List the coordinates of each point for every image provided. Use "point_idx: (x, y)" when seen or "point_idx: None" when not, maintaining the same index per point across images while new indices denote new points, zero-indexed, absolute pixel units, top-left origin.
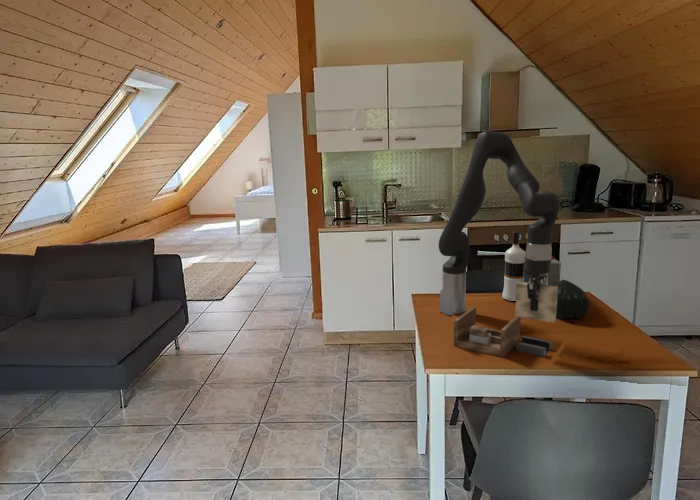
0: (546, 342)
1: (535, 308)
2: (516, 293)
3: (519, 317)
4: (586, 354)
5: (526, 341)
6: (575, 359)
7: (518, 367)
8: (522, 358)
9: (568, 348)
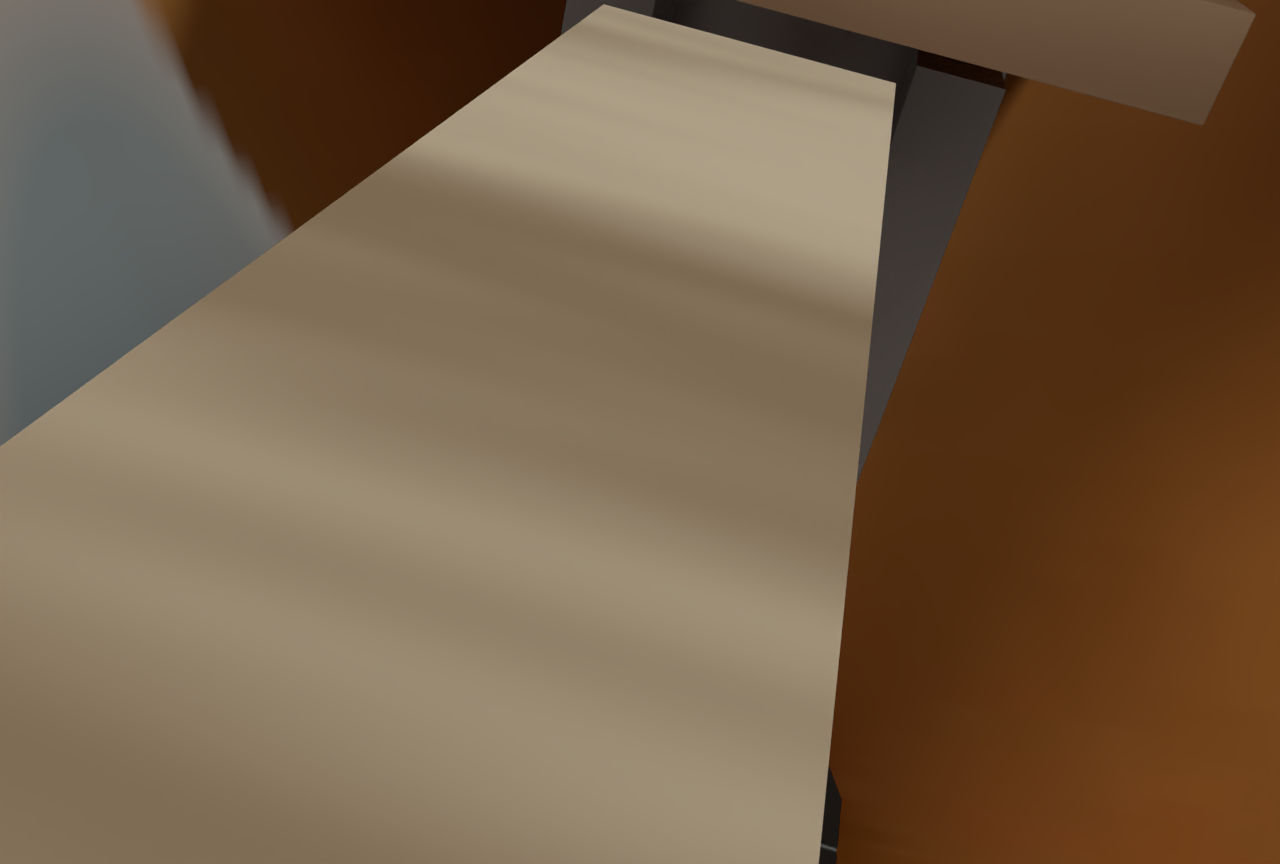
0: None
1: None
2: (197, 339)
3: (1076, 87)
4: (871, 781)
5: None
6: None
7: (158, 21)
8: (466, 63)
9: (1016, 645)
